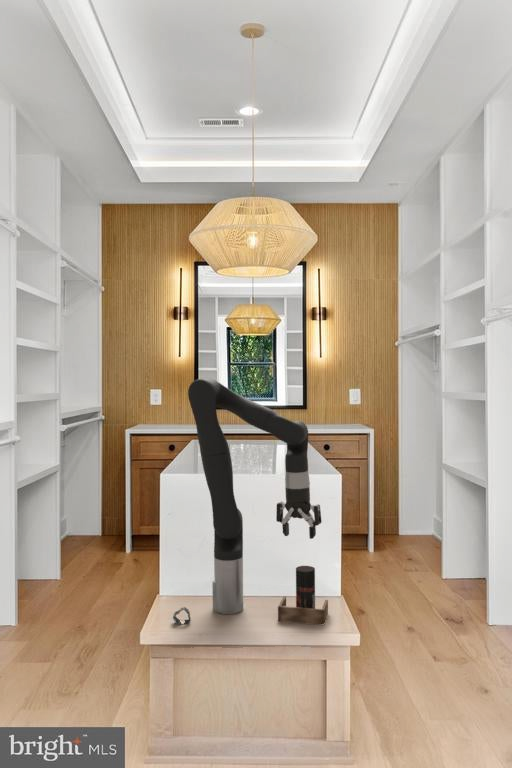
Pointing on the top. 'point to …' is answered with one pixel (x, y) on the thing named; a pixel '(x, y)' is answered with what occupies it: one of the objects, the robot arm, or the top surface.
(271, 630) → the top surface
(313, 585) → the deodorant
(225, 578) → the robot arm
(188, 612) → the wristwatch
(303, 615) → the wooden u-shaped frame
